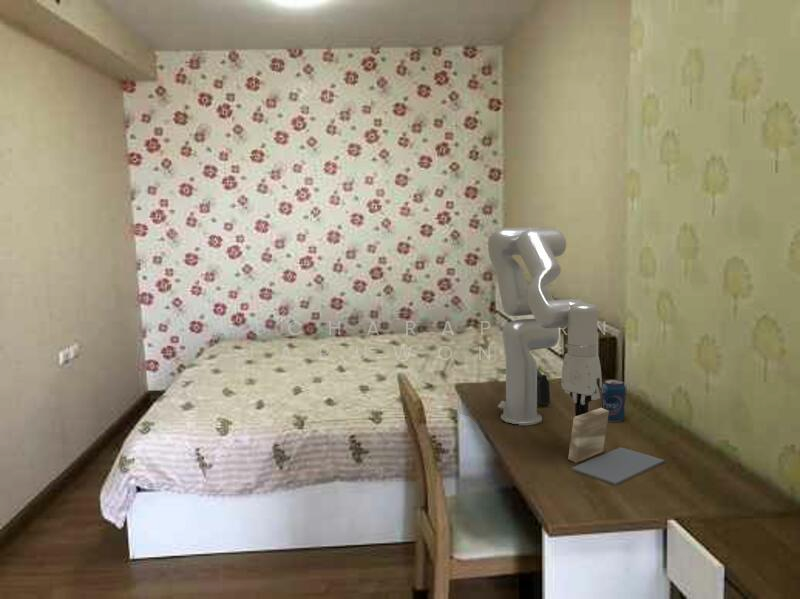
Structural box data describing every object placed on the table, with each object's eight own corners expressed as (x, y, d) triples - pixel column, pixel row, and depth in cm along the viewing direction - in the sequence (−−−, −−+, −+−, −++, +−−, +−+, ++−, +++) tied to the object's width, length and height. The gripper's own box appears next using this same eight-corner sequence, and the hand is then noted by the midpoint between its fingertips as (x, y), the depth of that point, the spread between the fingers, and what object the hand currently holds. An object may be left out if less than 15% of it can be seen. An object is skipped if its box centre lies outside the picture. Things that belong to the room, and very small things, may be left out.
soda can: (601, 421, 218) (602, 383, 216) (601, 415, 224) (602, 378, 222) (624, 423, 216) (625, 385, 214) (624, 416, 222) (625, 379, 220)
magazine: (552, 383, 229) (534, 339, 256) (542, 383, 229) (525, 339, 256) (548, 427, 237) (531, 379, 264) (538, 427, 237) (522, 379, 264)
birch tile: (568, 459, 187) (573, 417, 184) (595, 448, 194) (601, 407, 191) (575, 462, 185) (581, 420, 182) (602, 451, 193) (609, 410, 190)
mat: (571, 470, 180) (571, 467, 180) (620, 449, 194) (620, 447, 194) (615, 485, 170) (615, 483, 170) (664, 462, 184) (664, 460, 184)
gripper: (550, 348, 190) (550, 414, 193) (597, 356, 179) (596, 426, 181) (568, 344, 195) (567, 408, 197) (615, 352, 183) (614, 420, 186)
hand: (581, 417), depth 189 cm, fingers closed
